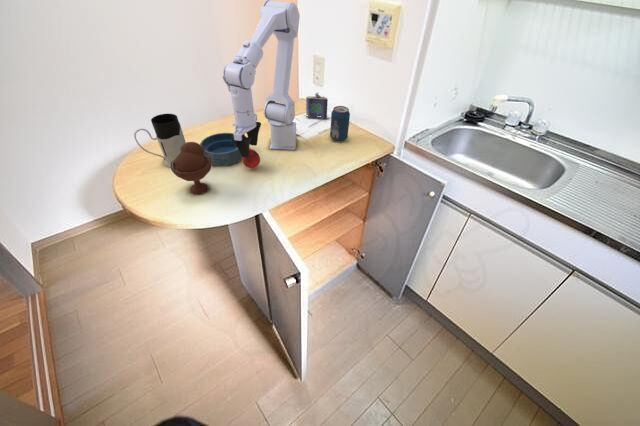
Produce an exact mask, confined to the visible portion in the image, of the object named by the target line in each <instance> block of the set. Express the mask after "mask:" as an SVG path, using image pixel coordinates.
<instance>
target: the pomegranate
mask: <svg viewBox="0 0 640 426" xmlns="http://www.w3.org/2000/svg"><path fill="white" fill-rule="evenodd" d="M241 163H242V164H243V166H244V167H246V168H247V169H250V170H254V169H256V168H257V167H258V166H259V165H260V163H261V157H260V155H259V153H258V152H257V151H256V149H253V148H251V146H249V157H248V158H246V157H242V160H241Z"/></svg>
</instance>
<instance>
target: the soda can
mask: <svg viewBox="0 0 640 426" xmlns="http://www.w3.org/2000/svg"><path fill="white" fill-rule="evenodd" d="M350 117H351V113H350V109H349V108H348V107H347V106H345V105H337V106H334V107H333V109H332V111H331V114H330V129H329V131H330V132H329V136H330V139H331V141H333V142H335V143H343V142H345V141H346V140H347V139H348V137H349V126H350Z"/></svg>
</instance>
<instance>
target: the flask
mask: <svg viewBox="0 0 640 426" xmlns="http://www.w3.org/2000/svg"><path fill="white" fill-rule="evenodd" d="M328 102H329V100H328V97H326V96H322V95H320V94H319V92H315V94H314V96H312V95H311V96H309V95H308V96H306V98H305V117H306V119H314V120H327V119H328ZM306 115H308V116H306ZM317 116H321V117H317Z"/></svg>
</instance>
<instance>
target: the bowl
mask: <svg viewBox="0 0 640 426" xmlns="http://www.w3.org/2000/svg"><path fill="white" fill-rule="evenodd" d="M233 134H234V132H218V133H214V134H211V135H209V136H206V137H204V138H203V139H202V140H201V141H200V143H199V144H200V145H201V146H202V148H203V149H204V150H205V151H204V154H205V155H208V156H210V159H211V166H222V167H223V166H230V165H233V164H237V163H238V162H242V156H241V154H240V151H239V149H238V148H237V146H236V145H235V143H234V142H233V141H232V140H231V137H232V136H233Z"/></svg>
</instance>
